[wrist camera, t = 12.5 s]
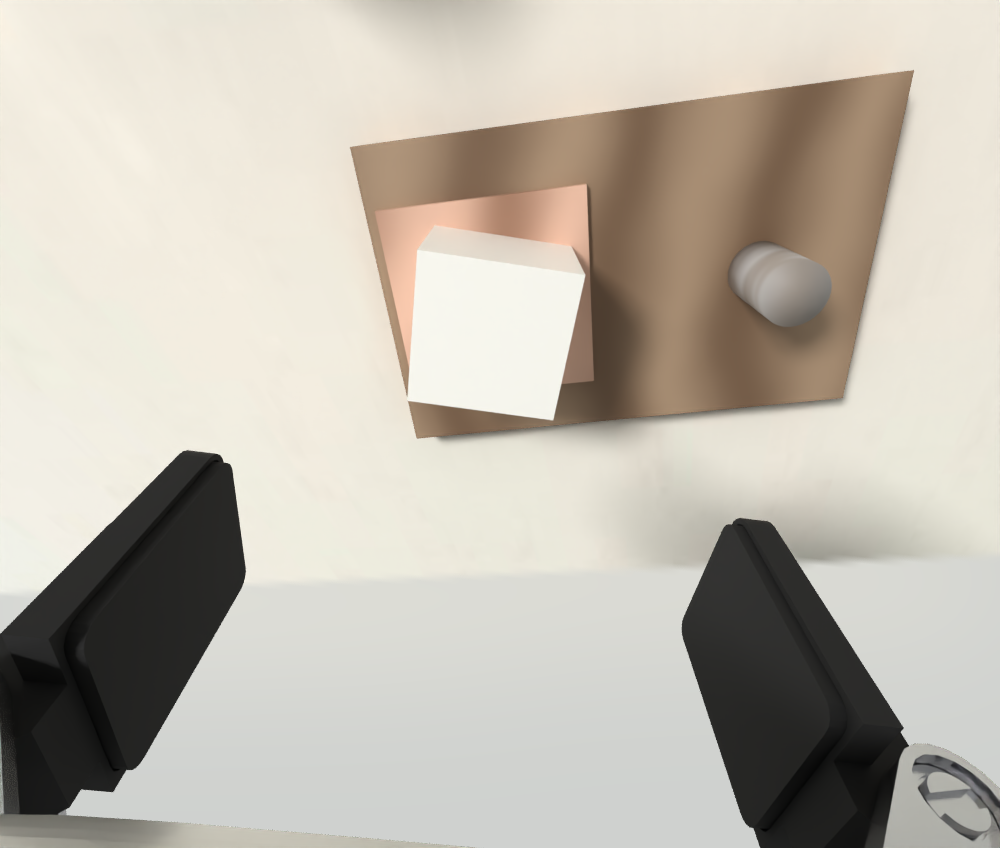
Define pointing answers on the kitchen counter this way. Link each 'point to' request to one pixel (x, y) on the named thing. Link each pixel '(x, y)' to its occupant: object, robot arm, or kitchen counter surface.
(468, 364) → the matte white cube
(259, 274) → the kitchen counter surface
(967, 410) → the kitchen counter surface
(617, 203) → the post board
